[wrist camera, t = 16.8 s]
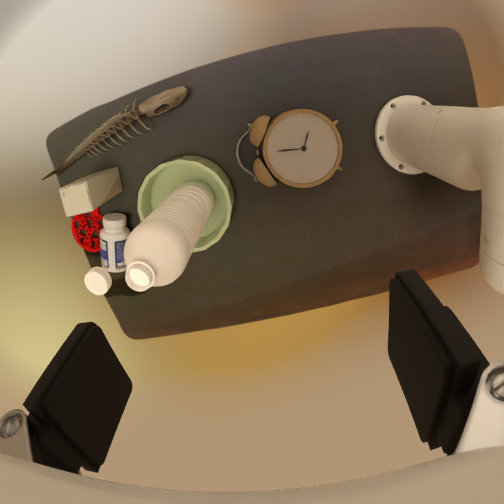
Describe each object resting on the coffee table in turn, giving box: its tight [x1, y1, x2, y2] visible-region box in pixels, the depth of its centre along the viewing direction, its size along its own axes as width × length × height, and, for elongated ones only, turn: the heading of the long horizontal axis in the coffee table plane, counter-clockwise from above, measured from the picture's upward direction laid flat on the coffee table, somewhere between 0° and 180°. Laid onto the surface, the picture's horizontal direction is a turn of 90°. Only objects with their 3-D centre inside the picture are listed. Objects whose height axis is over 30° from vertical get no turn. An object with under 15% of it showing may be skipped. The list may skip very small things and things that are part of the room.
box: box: [59, 167, 123, 217], centre depth 43 cm, size 5×4×11 cm
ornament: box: [72, 207, 104, 252], centre depth 51 cm, size 8×1×10 cm
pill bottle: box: [100, 213, 130, 272], centre depth 50 cm, size 5×5×9 cm
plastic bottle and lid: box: [85, 180, 216, 295], centre depth 37 cm, size 9×6×25 cm
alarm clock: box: [236, 109, 343, 188], centre depth 44 cm, size 11×5×15 cm
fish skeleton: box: [42, 86, 188, 180], centre depth 40 cm, size 6×28×10 cm, turn 114°
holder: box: [137, 155, 234, 252], centre depth 47 cm, size 14×14×5 cm
